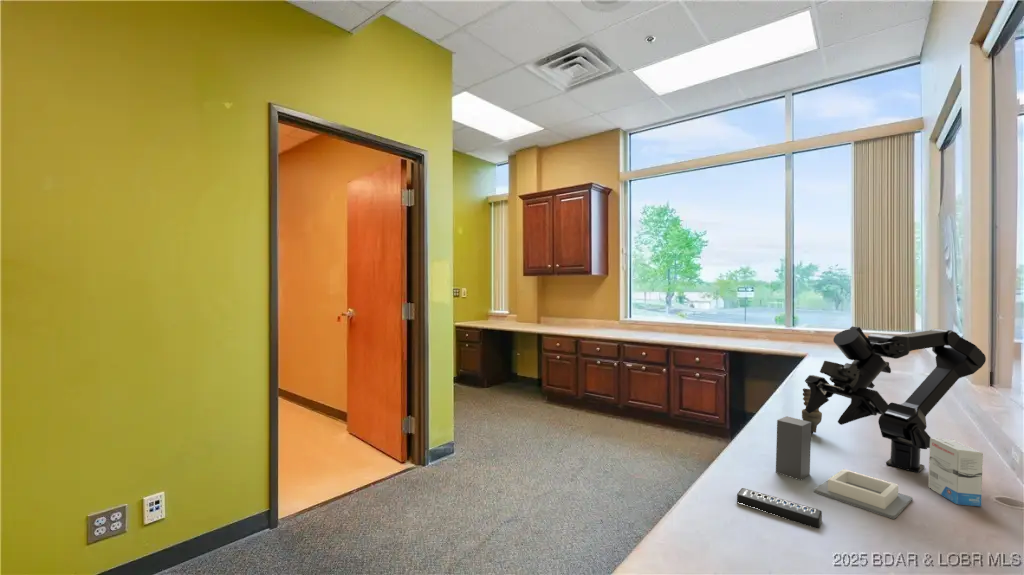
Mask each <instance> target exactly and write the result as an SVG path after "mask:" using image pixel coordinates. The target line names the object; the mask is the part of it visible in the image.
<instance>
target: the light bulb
mask: <svg viewBox="0 0 1024 575" xmlns="http://www.w3.org/2000/svg"><path fill="white" fill-rule="evenodd" d="M802 392H803V393H802V396H803V398H802V400H803V405H804V406H805V408H804V409H801V420H805V421H809V422H811V435H812V434H814V433H817V427H818V425H819V424H820V423H821V422H822V418H823V412H821V411H820V408H821V407H822V406H820V407H819V408H817V409H816V410H815V411H813V412H811V413H807V411H806V408H807V405H808V402H809V398H810V393H811V390H810V388H803V389H802Z"/></svg>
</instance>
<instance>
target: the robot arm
mask: <svg viewBox="0 0 1024 575" xmlns="http://www.w3.org/2000/svg"><path fill="white" fill-rule="evenodd" d="M833 343H834V345H835V346H837V348H838V349H839V350H840V352H841V353H842V354H843V355H844V356H845V358H847V359H848V360H850V361H852V362H851V363H849V362H845V364H841V363H837V362H834V361H830V360H824V361H823V362H822V366H821V368H820V370H819V373H821V374H823V375H826V376H828V377H829V381H830V382H831V383H833V385H832V384H830V383H829V381H827V380H826V379H825V377H822V376H818V375H814V374H809V375H808V376H807V377H806V378H805V380H804V382H805V383H806V385H807V387H808V389H810V390H811V393H810V398H809V402H808V405H807V408H806V407H805V408H806V411H807V413H811V412H813V411H815V410H816V409H817V408H819V407H820V406H821V407H822V406H823V405H825V404H826V403H828V402H829V401H830V399H829V398H832V396H833V395H838V396H842V397H844V398H847V399H850V404H849V405H848V407H846V408H845V410H844V411H843V413H842V414H841V415H840V417H839V418H838V420H837V423H838V424H839V425H841V426H843V425H845V424H847V423H851V422H853V421H857V420H859V419H863V418H867V417H870V416H877V415H880V416H879V417H878V426H879V429H880V433H881V434H880V435H881V436H882V438H884V439H888V440H890V458H889V459H888V460H886V461H885V465H887V466H888V465H889V466H892V467H896V468H899V469H903V470H907V471H909V472H912V473H913V472H914V473H920V472H921V471H923V469H924V468H925V465H924V464H921V450H928V449H930V438H932V437H931V436H930V435H929V434H928V432H927V431H926V428H927V421H926V420H927V419H926V417H927V415H928V414H929V413H930V412H931V411H932V410H933V408H935V406H936V405H937V404H938V403H939V402H940V400H942V398H943V397H944V396H945V395H946V394H947V392H948V391H949V390H950V389H951V388H952V387H953V386H954V385H955V384H956V382H957V381H958V380H959V379H961V378H965V377H967V376H968V377H969V376H971V375H973V374H975V373H977V371H978V370H980V369H981V368H982V367H983V366H984V365H985V363H986V360H987V358H986V355H985V353H983V351H982V350H981V349H980V348H979V346H977V345H976V344H974V343H972V342H971V341H969V340H966V339H965V338H963V337H961V336H960V335H959V334H958V333H957V332H956V331H953V330H951V329H950V330H949V329H941V328H940V329H939V328H934V329H933V328H932V329H929V330H923V331H917V332H910V333H903V334H889V333H888V334H887V333H877V332H876V333H875V332H874V333H870V334H868V336H866V334H865V333H864V331H863V330H862V328H861V327H859V326H851V327H850V328H848V329H844V330H842V331H840V332H838V333H836V334H835V335H834V337H833ZM931 348H932V349H931ZM922 349H923V350H924V349H931V351H932V352H933V353H934V354H935V364H936V366H935V368H934V369H933V370H932V371H931V372H930V373H929V374H928V375H927V377H926V378H924V380H923V381H922V382H921V383H920V384H919V386H918V387H917V388H916V389H915V390H914V391H913V392H912V393H911V395H909V397H908V398H907V399H906V400H905V401H904V402H903V403H896V402H892V401H891V402H890V403H888V402H887V401H886V400H885V399H884V397H883V396H882V395H881V394H880V393H879V392H878V390H875V389H874V387H875V384H874V383H873V382H874V381H875V379H876V378H877V377H878V376H879V375H880V374H881V373H886V374H891V372H892V369H891V367H890V363H889V362H890V361H889V362H888V361H885V359H884V358H889V359H895V360H896V359H901V358H903V357H906V356H908V355H909V354H910V352H912V351H916V350H922ZM821 407H820V408H821ZM820 408H819V409H820Z"/></svg>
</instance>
